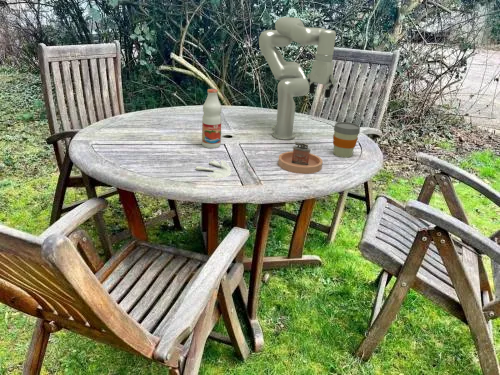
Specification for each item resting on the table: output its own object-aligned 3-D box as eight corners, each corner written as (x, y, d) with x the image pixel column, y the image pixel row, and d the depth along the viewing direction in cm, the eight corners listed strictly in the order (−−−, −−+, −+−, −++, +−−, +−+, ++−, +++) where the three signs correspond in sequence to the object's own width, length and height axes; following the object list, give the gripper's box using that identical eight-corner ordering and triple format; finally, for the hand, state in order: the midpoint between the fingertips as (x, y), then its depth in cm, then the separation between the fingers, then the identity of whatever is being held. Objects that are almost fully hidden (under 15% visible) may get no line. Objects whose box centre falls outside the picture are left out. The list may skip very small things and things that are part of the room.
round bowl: (269, 162, 188) (269, 156, 187) (298, 154, 201) (299, 148, 200) (301, 177, 175) (302, 170, 174) (330, 167, 188) (331, 161, 186)
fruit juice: (217, 141, 210) (218, 87, 198) (223, 147, 203) (225, 91, 191) (199, 143, 207) (200, 87, 195) (205, 149, 199) (206, 92, 187)
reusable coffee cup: (357, 153, 208) (362, 124, 202) (352, 160, 198) (357, 131, 192) (333, 148, 213) (337, 120, 206) (327, 155, 202) (331, 126, 196)
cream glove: (217, 183, 166) (217, 178, 165) (178, 168, 176) (178, 163, 175) (246, 169, 181) (247, 164, 180) (209, 157, 192) (209, 152, 191)
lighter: (309, 163, 188) (311, 143, 184) (307, 166, 185) (310, 145, 181) (292, 160, 190) (294, 140, 186) (290, 163, 187) (293, 142, 183)
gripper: (304, 56, 191) (300, 92, 198) (334, 61, 180) (328, 100, 187) (315, 55, 196) (310, 91, 203) (344, 60, 184) (338, 98, 192)
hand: (319, 95), depth 195 cm, fingers open, 9 cm apart
